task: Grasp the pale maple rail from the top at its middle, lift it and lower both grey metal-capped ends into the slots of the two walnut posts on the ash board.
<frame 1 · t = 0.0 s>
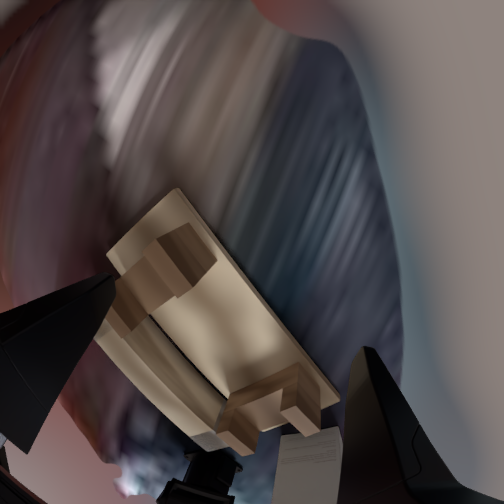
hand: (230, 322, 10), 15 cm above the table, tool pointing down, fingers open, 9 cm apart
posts: (226, 331, 28), on the table
rail: (172, 361, 30), on the table
supplement box: (315, 445, 31), on the table
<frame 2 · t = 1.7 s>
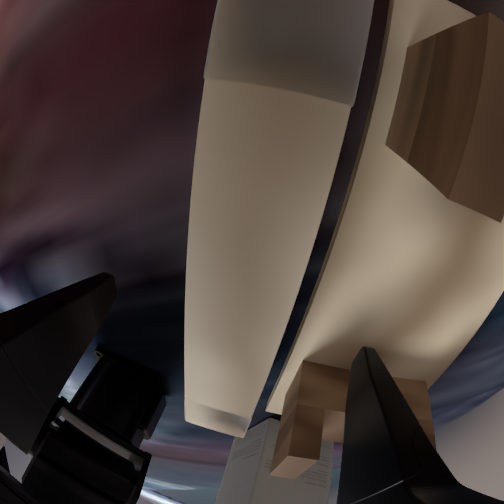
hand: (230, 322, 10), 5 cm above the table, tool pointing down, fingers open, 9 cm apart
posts: (415, 285, 13), on the table
rail: (261, 244, 14), on the table
supplement box: (283, 437, 24), on the table
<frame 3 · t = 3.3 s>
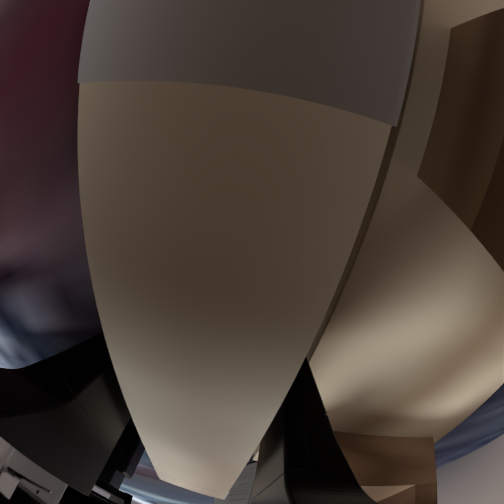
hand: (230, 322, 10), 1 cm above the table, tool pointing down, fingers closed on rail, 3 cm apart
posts: (433, 347, 10), on the table
rail: (238, 302, 10), on the table, touching gripper
supplement box: (274, 475, 21), on the table
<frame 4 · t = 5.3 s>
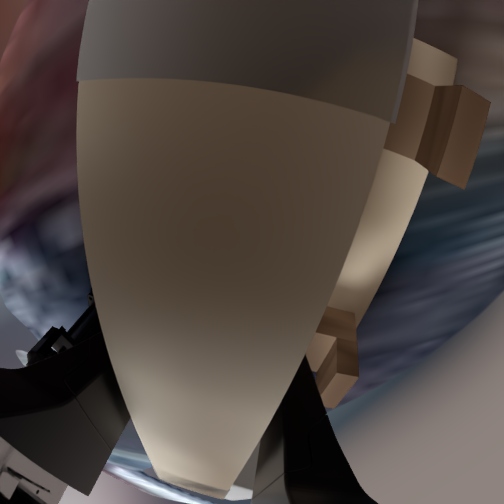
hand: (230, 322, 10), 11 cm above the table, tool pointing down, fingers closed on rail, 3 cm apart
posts: (326, 220, 19), on the table
rail: (237, 301, 10), point 10 cm above the table, touching gripper
supplement box: (245, 382, 30), on the table
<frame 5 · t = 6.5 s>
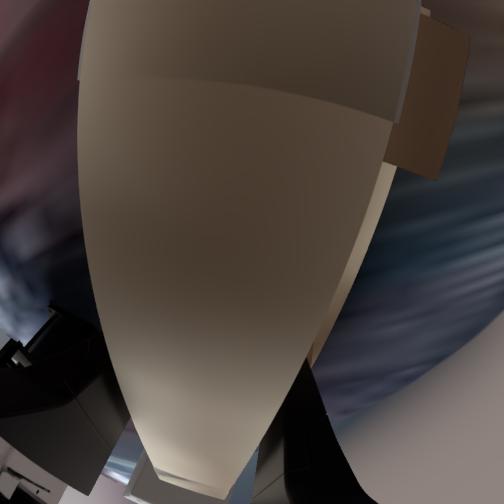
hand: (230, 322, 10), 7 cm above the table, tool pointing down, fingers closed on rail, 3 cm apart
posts: (269, 228, 15), on the table
rail: (238, 301, 10), point 6 cm above the table, touching gripper
supplement box: (208, 401, 26), on the table
when the fingers open (6 cm above the table, at t = 7.3 s): rail drops 1 cm, resting on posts.
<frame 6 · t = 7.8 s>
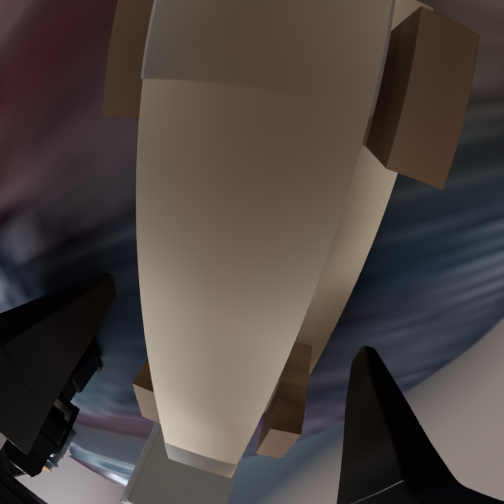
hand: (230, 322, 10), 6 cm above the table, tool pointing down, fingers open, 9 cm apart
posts: (265, 234, 15), on the table
rail: (247, 278, 12), point 4 cm above the table, touching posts
canister: (56, 419, 54), on the table
supplement box: (206, 406, 26), on the table
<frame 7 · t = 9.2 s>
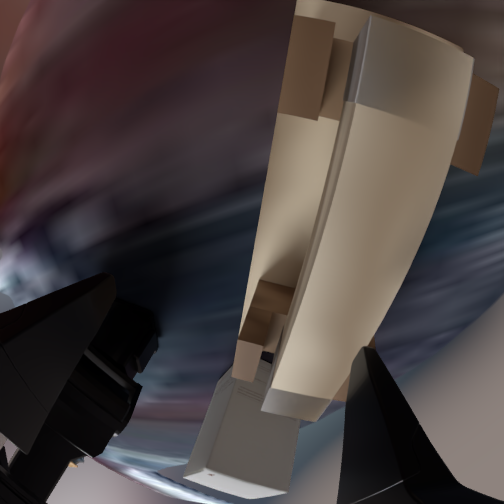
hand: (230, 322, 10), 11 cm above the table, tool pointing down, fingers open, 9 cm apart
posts: (340, 212, 19), on the table
rail: (343, 241, 15), point 4 cm above the table, touching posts
supplement box: (260, 379, 30), on the table
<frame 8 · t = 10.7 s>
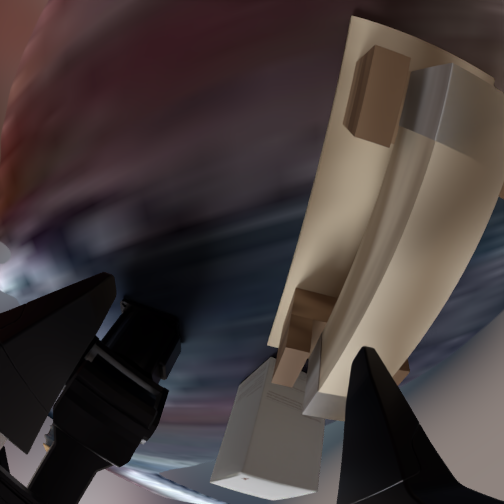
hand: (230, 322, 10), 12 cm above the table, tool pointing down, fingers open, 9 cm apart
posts: (376, 225, 19), on the table
rail: (387, 254, 16), point 4 cm above the table, touching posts
supplement box: (282, 383, 30), on the table
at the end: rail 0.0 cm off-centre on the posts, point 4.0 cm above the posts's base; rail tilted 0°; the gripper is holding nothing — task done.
